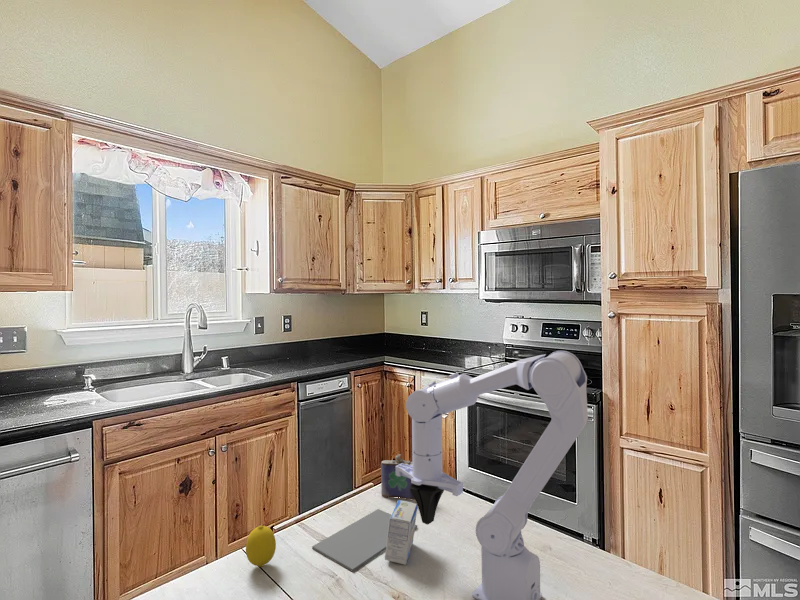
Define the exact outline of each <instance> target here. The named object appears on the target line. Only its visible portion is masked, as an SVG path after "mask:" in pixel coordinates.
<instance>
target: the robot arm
mask: <svg viewBox="0 0 800 600" xmlns="http://www.w3.org/2000/svg"><path fill="white" fill-rule="evenodd" d="M546 355H547V354H546V353H545V354H539V355H535V356H532V357H531V356H530V357H526V358H522V359H519V360H516V361H514V362H511V363H509V364H506V365H503V366H501V367H498V368H496V369H493V370H491V371H489V372H488V371H487V372H486V373H483V374H481V375H478V376H475V377H472V376H470V375H468V374H465V373H461V374H459V372H454V373H453V374H450V375H448V377H449V378H448V379H445V380H442V381H439V382H436V381H432V382H430V383H428V386H425V387H423V388H420V389H416V390H415V391H413V392H412V393H410V394H408V396H407V398H406V403H405V408H406V412H407V415H409V417H410V418H411V445H412V446H411V447H412V448H411V451H412V452H411V453H412V455H411V457H412V458H411V459H412V461H411V462H412V465H407V464H403V463H401V464H399V465H397V466H395V467H396V476H399V477H400V476H404V477H407V478H410V479H411V483H413V485H411V486H410V491H411V493H412V494H413V496H414V498H415V499H414V500H415V502H416V503H415V504H417V509H418V512H419V514H420V519H421V522H422V523H423V524H424V525H430V524H431V523H432V522H434V521H435V516H436V511H437V508H438V504H439V502H440V499H441V497H442V495H443V493H444V491H446V492H449V493H452V496H454V497H458V496H460V495H462V494H463V493H464V485H463V484H464V483H463V481H460V480H458V479H455V478H454V477H452V476H450V475H449V474H447V473H445V472H444V471H443V415H445V414H446V415H447V414H449V413H451V412H454V411H458V410H461V409H464V408H467V407H470V406H473V405H475V404H476V403H477V402H478V401H477V400H478V398H479V396H480V395H483V394H486V393H489V392H493V391H497V390H500V389H504V388H507V387H511V386H515V385H517V386H519V387H521V388H523V389H525V390H526V391H529V390H531V389H533V390H534V391H535V392H536V394H537V395H538V396H539V398H540V400H542V402H543V403H544V404H545V406H546V407H547V411H548V413H549V415H550V418H551V420H550V422H549V423H548V425H547V426H546V427H545V429H544V431H543V432H542V434H541V436H540V437H539V439H538V441H537V442H536V444H535V445H534V446H533V448H532V450H531V451H530V452H529V454H528V456H527V458H526V459H525V461H524V463H523V464H521V467H520V468H519V470H518V472H517V473H516V475H515V476H514V478H513V479H512V481H511V482H510V484H509V485H508V487H507V489H506V491H504V494H503V495H501V496H499V497H497V499H496V500H495V502H494V503H493V505H491V507H490V508H489V509H488V511H487V512H486V513H485V514H484V515H483V516H482V517H480V518H479V519H478V521H477V523H476V525H475V534H476V535H475V536H476V538H477V541H478V542H479V544H480V547H481V583H480V585H478V587H477V588H475V589H474V591H472V593H471V597H472V598H474V599H476V600H541V599H542V596H543V593H542V592H541V561H540V558H539V556H538V555H537V554H535V553H533V552H532V551H530V550H529V548H527V547H526V545H525V541H524V538H523V535H522V530H523V529H524V528H525V527H526V525H527V524H528V515H529V514H528V513H529V511H530V508H531V507H532V506H533V504H534V503H535V501H536V499H537V498H538V496H539V495H540V494H541V492H542V491H543V490H544V488H545V486H546V485H547V483H548V482H549V480H550V479H551V477H552V476H553V474H554V473H555V471H556V470H557V468H558V466H559V465H560V463H561V462H562V460H563V459H564V458H565V456H566V454H568V452H569V450H570V448H571V447H572V445H573V444H574V443H575V441H576V440H577V438H579V436H580V434H581V432H582V430H583V429H584V428H585V426H586V425H587V423H588V420H589V419H588V418H589V416H588V413H589V412H588V397H587V395H588V394H587V384H588V383H587V382H588V375H587V373H586V371H585V370H584V367H583V365H582V363H581V361H580V360H579V357H577V356H576V355H575V354H574V353H572V352H569V351H567V350H556V351H553V352H552V353H550V354H548V356H546ZM545 356H546V357H545Z"/></svg>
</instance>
